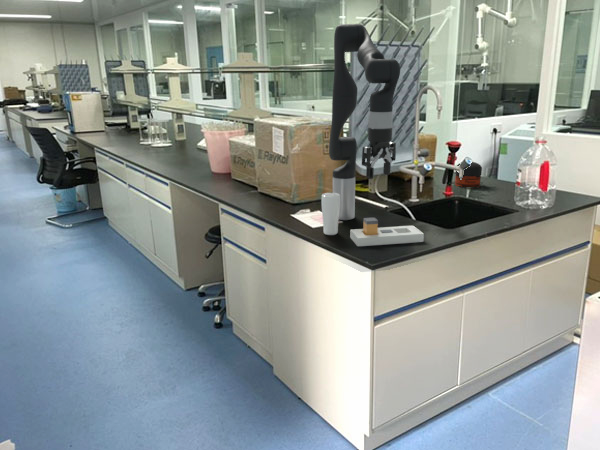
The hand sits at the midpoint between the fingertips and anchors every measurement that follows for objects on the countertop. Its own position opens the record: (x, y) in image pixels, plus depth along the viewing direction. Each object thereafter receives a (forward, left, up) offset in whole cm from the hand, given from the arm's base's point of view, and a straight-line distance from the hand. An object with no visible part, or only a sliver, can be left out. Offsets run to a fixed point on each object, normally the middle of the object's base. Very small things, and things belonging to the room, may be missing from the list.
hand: (378, 176), depth 155 cm
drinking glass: (-19, -12, -25) cm, 34 cm away
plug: (-8, 0, -25) cm, 26 cm away
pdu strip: (-8, +6, -25) cm, 27 cm away
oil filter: (-84, +77, -25) cm, 117 cm away
